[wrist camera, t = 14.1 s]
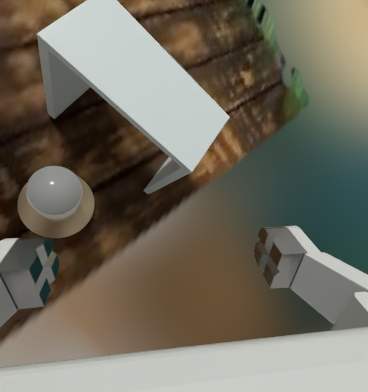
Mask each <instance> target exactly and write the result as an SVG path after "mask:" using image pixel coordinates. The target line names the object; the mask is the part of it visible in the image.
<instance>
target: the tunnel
mask: <svg viewBox="0 0 368 392" xmlns="http://www.w3.org/2000/svg"><path fill="white" fill-rule="evenodd" d="M37 38H38V45H39V52H40V60H41V67H42V74H43V81H44V88H45V96H46V103H47V110H48V114H49V115H50V116H51V117H52V118H54V119H55V118H56V117H57V116H58V115H60V114H61V113H62V112H63V111H64V110H65V109H66V108H67V107H69V106H70V105H71V104H72V103H73V102H74V101H75V100H76V99H78V98H79V97H80V96H81V95H82V94H83V93H84V92H86V91H87V90H88V89H89V88H90V87H91V88H92V89H93V90H94V91H95V92H97V93H98V94H99V95H100V96H101V97H102V98H103V99H105V100H106V101H107V102H108V103H109V104H110V105H111V106H112V107H114V108H115V109H116V110H117V111H118V112H119V113H120V114H122V115H123V116H124V117H125V118H126V119H127V120H128V121H129V122H131V123H132V124H133V125H134V126H135V127H136V128H137V129H139V130H140V131H141V132H142V133H143V134H144V135H145V136H146V137H148V138H149V139H150V140H151V141H152V142H153V143H154V144H156V145H157V146H158V147H159V148H160V149H161V150H162V151H163V152H165V153H166V154H167V155H168V156H169V158H168V159H167V160H166V161H165V163H164V164H163V165H162V167H161V168H160V169H159V171H158V172H157V173H156V175H155V176H154V177H153V179H152V180H151V181H150V183H149V184H148V185H147V186H146V188H145V189H144V190H143V191H144V192H146V193H147V194H150V193H152V192H154V191H156V190H158V189H160V188H162V187H164V186H166V185H168V184H170V183H172V182H174V181H175V180H177V179H179V178H181V177H183V176H185V175H187V174H189V173H191V172H192V171H193V170H194V168H195V167H196V166H197V164H198V163H199V161H200V160H201V158H202V157H203V155H204V154H205V152H206V151H207V149H208V148H209V146H210V145H211V144H212V142H213V141H214V139H215V138H216V136H217V135H218V133H219V132H220V130H221V129H222V127H223V126H224V124H225V123H226V122H227V120H228V119H229V116H228V115H227V114H226V113H225V112H224V111H223V110H222V108H221V107H220V106H219V105H218V104H217V103H216V102H215V101H214V100H213V99H212V98H211V97H210V96H209V95H208V94H207V93H206V92H205V91H204V90H203V89H202V88H201V87H200V86H199V85H198V84H197V83H196V82H195V81H194V80H193V79H192V78H191V76H190V75H189V74H188V73H187V72H186V71H185V70H184V69H183V68H182V67H181V66H180V65H179V64H178V63H177V62H176V61H175V60H174V59H173V58H172V57H171V56H170V55H169V54H168V53H167V52H166V51H165V50H164V49H163V48H162V47H161V46H160V45H159V43H158V42H157V41H156V40H155V39H154V38H153V37H152V36H151V35H150V34H149V33H148V32H147V31H146V30H145V29H144V28H143V27H142V26H141V25H140V24H139V23H138V22H137V21H136V20H135V19H134V18H133V17H132V16H131V15H130V14H129V13H128V12H127V10H126V9H125V8H124V7H123V6H122V5H121V4H120V3H119V2H118V1H117V0H87V1H85V2H84V3H82V4H81V5H79V6H78V7H76V8H75V9H73V10H72V11H70V12H69V13H67V14H66V15H64V16H63V17H61V18H60V19H58V20H57V21H55V22H54V23H52V24H51V25H49V26H48V27H46V28H45V29H43V30H42V31H40V32H39V33H37Z"/></svg>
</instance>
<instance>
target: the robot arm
mask: <svg viewBox="0 0 368 392" xmlns="http://www.w3.org/2000/svg"><path fill="white" fill-rule="evenodd" d="M258 237H259V238H260V240H259V241H258V242H257V243H256V245H255V249H254V252H255V259H256V262H257V264H258V266H259V267H261V268H262V269H263V270H264V273H263V276H264V278H265V280H266V281H267V283H268V285H269V287H270V288H286V287H291V289H292V290H293V291H294V292H295V293H297V294H298V295H299V296H300V297H301V298H302V299H304V300H305V301H306V302H307V303H308V304H310V305H311V306H312V307H313V308H315V309H316V310H317V311H318V312H319V313H320V314H322V315H323V316H324V317H325V318H327V319H328V320H329V321H330V322H331V323H332V324H334V326H333V328H332V329H331V331H325V332H317V333H307V334H299V335H289V336H281V337H271V338H262V339H253V340H245V341H235V342H226V343H217V344H208V345H199V346H190V347H181V348H171V349H162V350H154V351H144V352H136V353H126V354H117V355H108V356H99V357H89V358H80V359H72V360H62V361H53V362H44V363H35V364H26V365H17V366H8V367H0V392H368V275H367V274H365V273H363V272H361V271H359V270H357V269H355V268H353V267H351V266H349V265H347V264H346V263H344V262H342V261H340V260H338V259H336V258H334V257H332V256H330V255H328V254H327V253H321V252H320V251H319V250H318V249H317V247H316V246H315V245H314V244H313V243H312V242H311V241H310V239H309V238H308V237H307V236H306V235H305V234H304V232H303V231H302V230H301V229H300V228H299V227H297V226H286V227H273V228H261V229H260V231H259V234H258ZM53 247H54V243H53V241H52V239H51V238H49V237H38V238H6V239H3V240H1V241H0V327H1V326H2V325H3V324H4V323H5V322H6V321H7V320H8V319H9V318H10V317H11V316H12V315H13V314H15V313H16V312H17V309H25V308H35V307H44V306H45V303H46V301H47V298H48V296H49V293H50V291H51V289H50V286H49V284H50V283H52V282H53V281H54V280H55V279H56V276H57V274H58V268H59V261H58V256H57V254H56V253H54V252H53V251H52V249H53Z"/></svg>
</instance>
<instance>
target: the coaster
mask: <svg viewBox="0 0 368 392" xmlns="http://www.w3.org/2000/svg"><path fill="white" fill-rule="evenodd" d="M77 178H78V179H79V181H80V183H81V186H82V190H83V195H82V199H81V202H80V204H79V206H78V209H77V211H76V213H75V214H74V215H73V216H72V217H71V218H70V219H68V220H66V221H63V222H51V221H48V220H46V219H45V218H43V217H42V216H41V215H40V214H39V213H38V212H37V211H36V210H35V209H34V208H33V207H32V206H31V205H30V203H29V202H28V199H27V194H26V191H27V184H28V182H27V183H26V185H25V186H24V187H23V189H22V190H21V192H20V195H19V198H18V213H19V216H20V218H21V220H22V222H23V223H24V224H25V226H26V227H27V228H28V229H30V230H31V231H32V232H34V233H36V234H38V235H40V236H43V237H49V238H64V237H68V236H71V235H73V234H75V233H77V232H79V231H80V230H81V229H83V228H84V227H85V226H86V225H87V223H88V222H89V221H90V219H91V217H92V215H93V212H94V205H95V202H94V196H93V193H92V191H91V189H90V187H89V186H88V185H87V183H86V182H85V181H84V180H82V179H81V178H80V177H78V176H77Z"/></svg>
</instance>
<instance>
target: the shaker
mask: <svg viewBox="0 0 368 392" xmlns="http://www.w3.org/2000/svg"><path fill="white" fill-rule="evenodd" d="M26 194H27V199H28V202H29V203H30V205H31V206H32V207H33V208H34V209H35V210H36V211H37V212H38V213H39V214H40V215H41V216H42V217H43V218H45V219H46V220H48V221H51V222H63V221H66V220H68V219H70V218H71V217H72V216H73V215H74V214H75V213H76V211H77V209H78V206H79V204H80V202H81V199H82V195H83V190H82V186H81V183H80V181H79V179H78V178H77V176H76V175H75V174H74V173H73V172H72V171H70V170H68V169H66V168H64V167H60V166H48V167H44V168H41V169H39V170H38V171H36V172H35V173H34V174H33V175H32V176H31V177H30V179H29V181H28V184H27V191H26Z"/></svg>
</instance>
